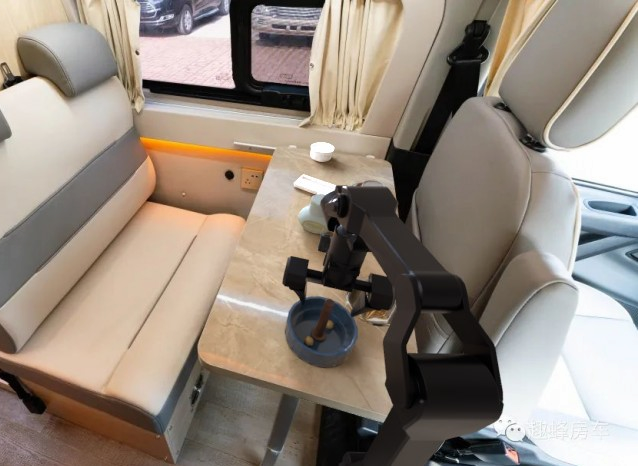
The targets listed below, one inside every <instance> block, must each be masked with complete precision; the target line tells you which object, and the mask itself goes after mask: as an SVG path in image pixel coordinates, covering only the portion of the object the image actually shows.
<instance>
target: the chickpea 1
mask: <svg viewBox="0 0 638 466" xmlns="http://www.w3.org/2000/svg"><path fill="white" fill-rule="evenodd" d="M313 342H314V341H313V339H312V337H310V336H307V337H305V338H304V344H305V345H306V346H312V345H313Z"/></svg>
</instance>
